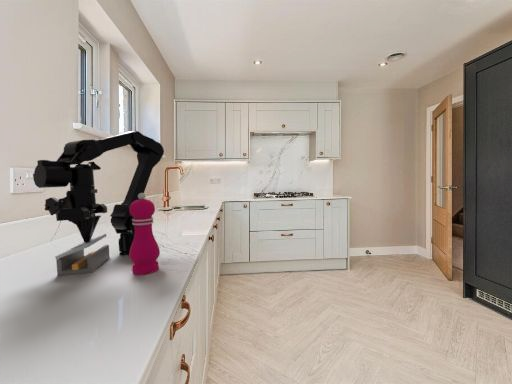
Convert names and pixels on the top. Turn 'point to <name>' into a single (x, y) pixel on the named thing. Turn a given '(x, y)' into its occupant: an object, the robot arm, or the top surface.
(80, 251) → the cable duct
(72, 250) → the lid
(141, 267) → the pepper mill
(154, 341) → the top surface
